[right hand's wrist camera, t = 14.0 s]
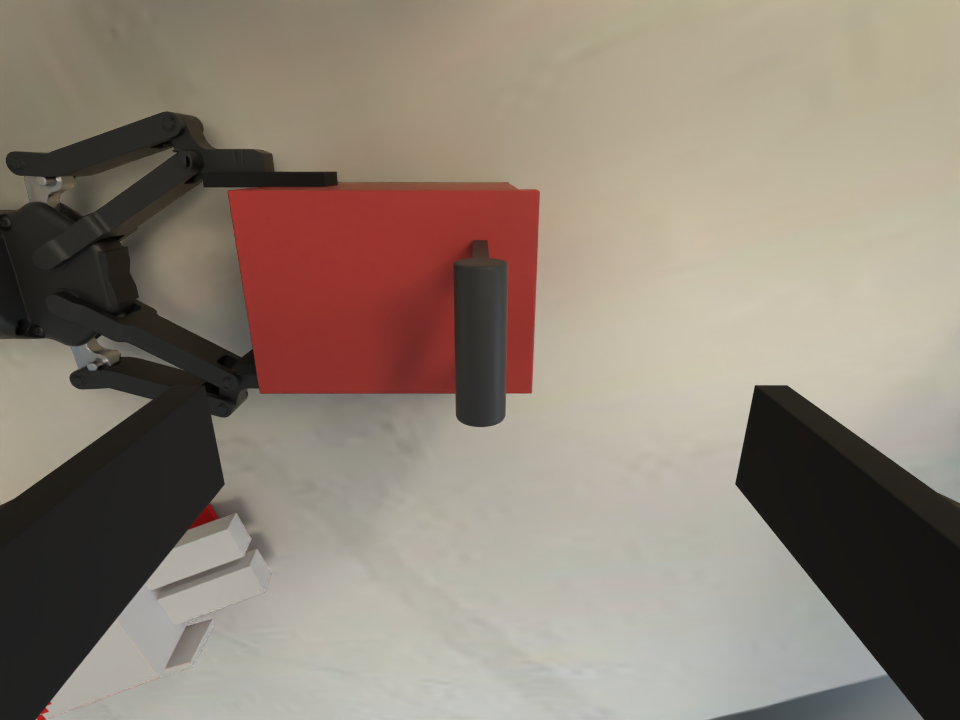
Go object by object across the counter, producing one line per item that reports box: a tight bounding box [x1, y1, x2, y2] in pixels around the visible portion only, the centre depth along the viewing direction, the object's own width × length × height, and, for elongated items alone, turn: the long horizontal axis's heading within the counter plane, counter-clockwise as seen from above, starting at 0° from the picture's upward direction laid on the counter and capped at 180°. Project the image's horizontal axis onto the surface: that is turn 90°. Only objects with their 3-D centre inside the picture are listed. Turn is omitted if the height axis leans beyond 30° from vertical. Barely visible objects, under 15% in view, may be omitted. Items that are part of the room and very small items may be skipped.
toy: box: [36, 504, 272, 720], centre depth 42 cm, size 12×13×30 cm
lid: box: [228, 189, 540, 427], centre depth 23 cm, size 14×10×9 cm
